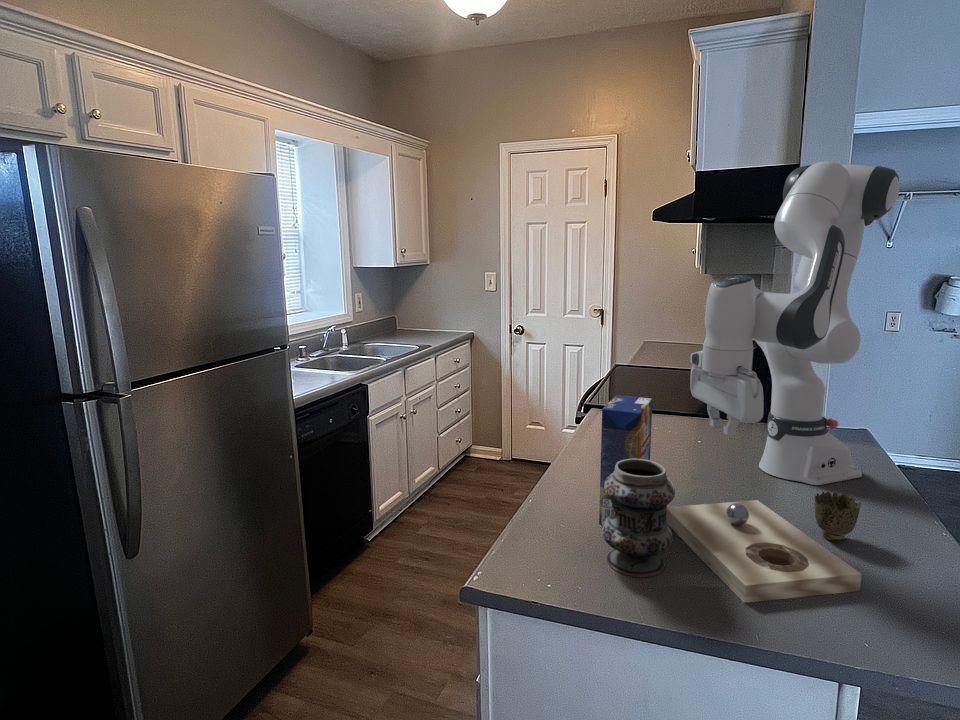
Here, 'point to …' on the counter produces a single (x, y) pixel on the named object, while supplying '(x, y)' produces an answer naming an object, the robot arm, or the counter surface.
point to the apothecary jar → (638, 517)
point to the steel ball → (737, 514)
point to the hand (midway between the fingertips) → (722, 431)
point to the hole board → (761, 553)
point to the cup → (836, 515)
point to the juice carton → (623, 438)
